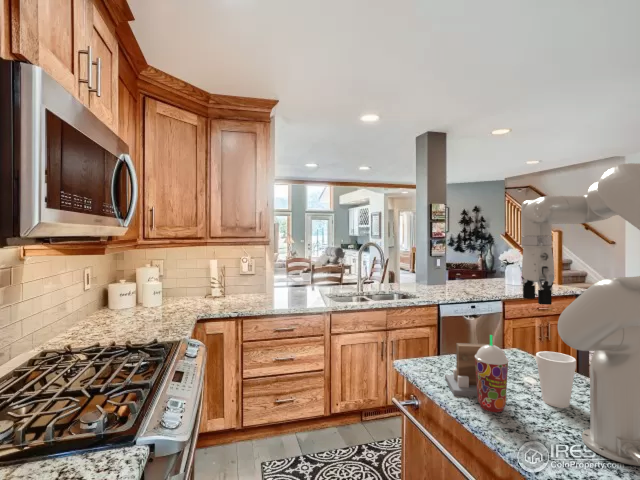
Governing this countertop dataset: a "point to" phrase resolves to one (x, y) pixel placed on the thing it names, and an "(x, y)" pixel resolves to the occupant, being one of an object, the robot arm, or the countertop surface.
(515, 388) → the countertop surface
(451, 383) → the hinge base
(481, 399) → the smoothie
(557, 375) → the foam cup
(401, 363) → the countertop surface
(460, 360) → the door
